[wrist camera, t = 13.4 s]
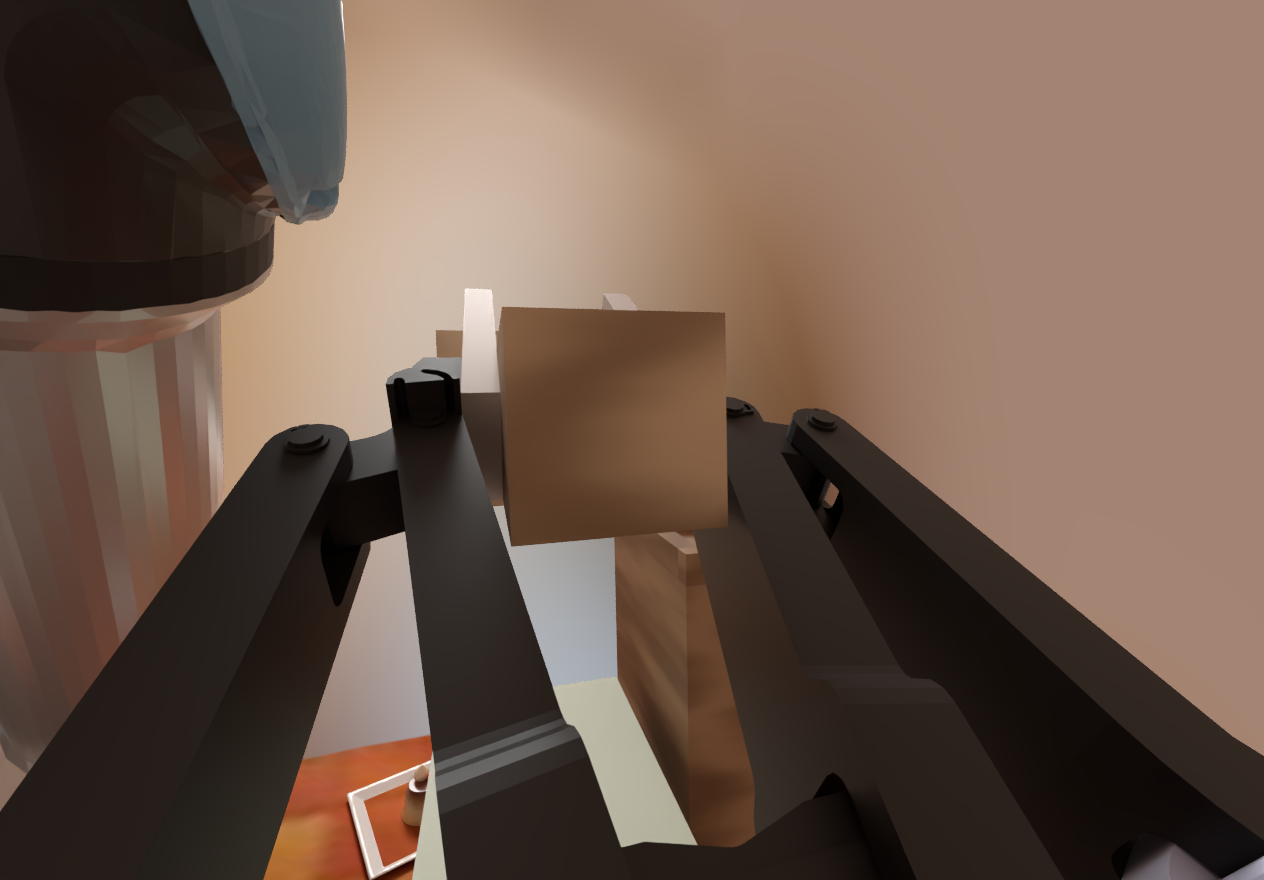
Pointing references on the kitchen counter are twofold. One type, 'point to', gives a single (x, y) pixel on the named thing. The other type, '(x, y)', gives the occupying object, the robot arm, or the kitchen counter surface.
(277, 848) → the kitchen counter surface
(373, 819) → the kitchen counter surface
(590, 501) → the mallet
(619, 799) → the sage block
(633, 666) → the walnut stand
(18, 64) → the robot arm
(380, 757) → the kitchen counter surface
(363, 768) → the kitchen counter surface
